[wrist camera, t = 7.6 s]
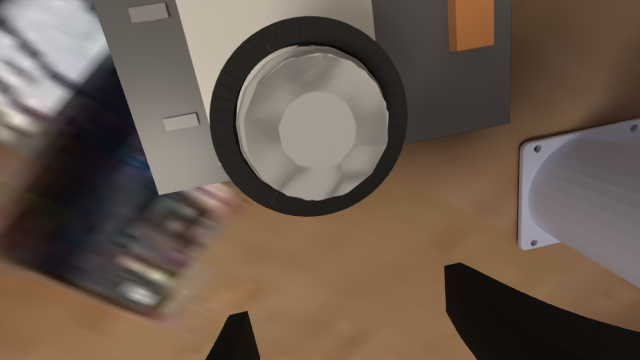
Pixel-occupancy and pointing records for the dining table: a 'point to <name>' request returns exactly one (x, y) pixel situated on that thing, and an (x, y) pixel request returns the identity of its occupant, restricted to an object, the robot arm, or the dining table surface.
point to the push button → (309, 116)
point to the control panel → (282, 3)
